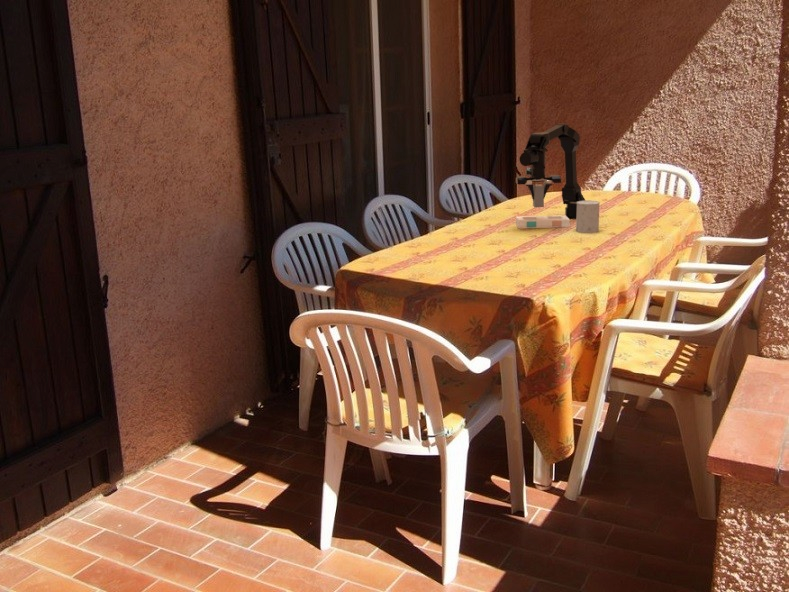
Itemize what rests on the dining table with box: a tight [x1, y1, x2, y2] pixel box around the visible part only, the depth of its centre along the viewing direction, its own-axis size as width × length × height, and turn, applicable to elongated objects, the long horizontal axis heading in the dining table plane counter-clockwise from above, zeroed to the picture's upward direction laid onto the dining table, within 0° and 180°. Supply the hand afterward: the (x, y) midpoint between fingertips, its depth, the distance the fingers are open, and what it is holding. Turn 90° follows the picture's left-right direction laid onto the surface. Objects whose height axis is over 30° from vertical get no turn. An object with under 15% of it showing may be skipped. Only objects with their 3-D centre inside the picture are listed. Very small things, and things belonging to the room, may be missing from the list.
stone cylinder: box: [575, 200, 600, 234], centre depth 373 cm, size 10×10×12 cm
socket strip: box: [515, 214, 571, 230], centre depth 388 cm, size 22×10×4 cm, turn 90°
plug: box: [532, 183, 545, 208], centre depth 379 cm, size 4×4×10 cm
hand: (538, 199), depth 380 cm, fingers closed on plug, 4 cm apart
